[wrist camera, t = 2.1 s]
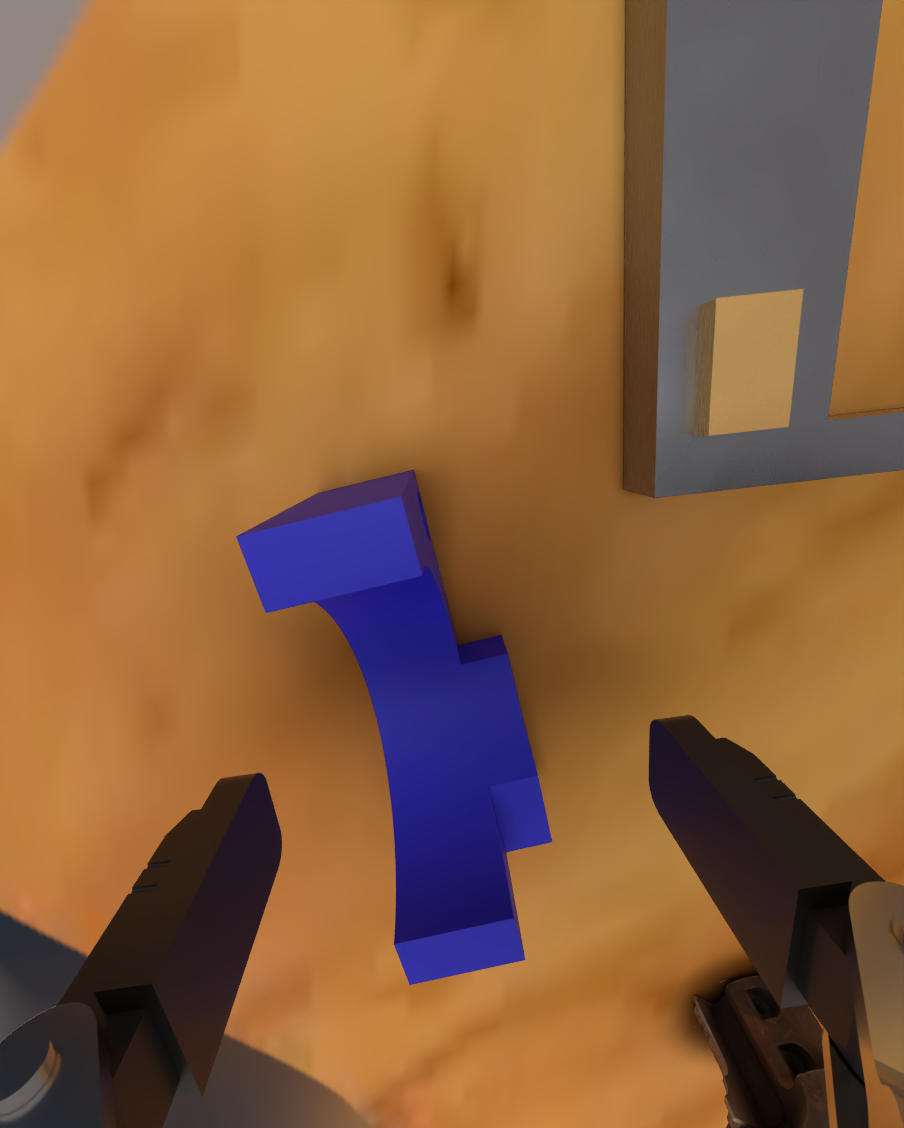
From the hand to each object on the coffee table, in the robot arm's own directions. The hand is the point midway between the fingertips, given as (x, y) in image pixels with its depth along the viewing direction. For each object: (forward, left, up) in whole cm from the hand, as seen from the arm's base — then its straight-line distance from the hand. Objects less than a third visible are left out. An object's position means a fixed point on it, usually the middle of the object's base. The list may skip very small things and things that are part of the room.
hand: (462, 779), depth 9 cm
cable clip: (0, 0, -7) cm, 7 cm away
